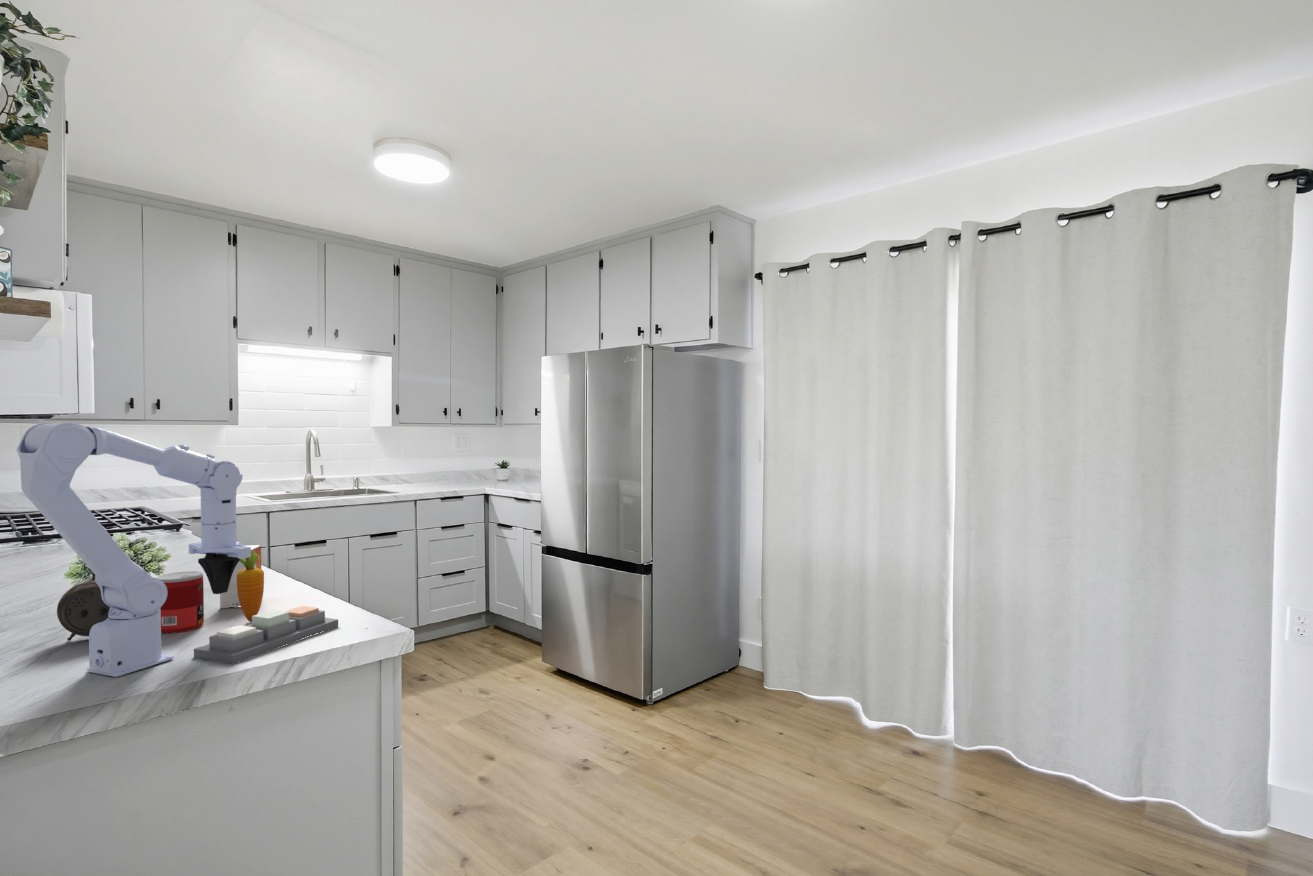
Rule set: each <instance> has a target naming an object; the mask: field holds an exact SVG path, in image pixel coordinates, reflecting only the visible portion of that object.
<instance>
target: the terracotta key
mask: <svg viewBox="0 0 1313 876" xmlns="http://www.w3.org/2000/svg"><path fill="white" fill-rule="evenodd" d="M319 610H320V607H314V606H313V607H312V606H305V605H301V606H298V607H294V608H292V609H288V610H285V611H283V612H289V616H290V617H298V618H301V617H304V616H307V615H311V614H314V613H317V612H319Z"/></svg>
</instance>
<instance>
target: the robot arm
mask: <svg viewBox="0 0 1313 876" xmlns="http://www.w3.org/2000/svg"><path fill="white" fill-rule="evenodd" d="M16 451H17V452H16V453H17V454H18V456H19V462H20V464H19V466H20V482H21V483H20V484H21V491H22V492H23V494H24V495H25V496H26V498H27V499H28V500H29V501H30V502H31V503H32V504H33V505H34V507H35V508H36V509H37V510H38V512H40V513H41V515H42V516H43V517H44V518H45V520H46V521H47V522H48V523H49V524H50V525H51V526H52V527H53V528H54V529H55V531H56V532H57V533H58V534H59V535H60V537H61V538H62V539H63V540H64V541H65V542H66V543H67V544H68V545H69V547H70V548H71V549H72V550H73V551H74V552H75V554H77V556H78V557H79V558H80V559H81V561H82V562H84V563H85V564H86V565H85V566H87V567H88V568H89V569H90V572H91V573H92V572H93V573H94V574H95V582H96V583H97V585H98V586H99V587H100V590H101V596H102V600H103V601H104V603H105V604H106V605H108V606H109V607H110V610H109V614H108V617H109V618H107V619H106V620H104V621H103V622H100V623H97V624H95V625H93V626H92V628H91V630H90V633H89V637H88V657H89V658H88V661H89V662H88V663H89V665H88V666H89V667H88V668H86V671H87V672H89V673H95V674H99V675H102V676H103V675H104V676H109V677H113V678H117V677H121V676H124V675H127V674H129V673H130V674H131V673H132V672H137V671H139V670H142V669H146V668H149V667H152V666H156V665H158V664H161V663H164V662H167V661H171V660H173V659H174V656H173V655H171V654H163V653H162V633H161V611H160V610H161V609H160V607H161V606H162V605H163V604H164V602H165V601H166V598H167V593H168V592H167V587H166V585H165V584H164V583H163V582H162V581H161V580H159V579H157V577H153V576H151V575H150V574H149V573H148V572H147V571H146V570H145V568H143V567H142V566H140V565H139V564H137V563H136V562H134V561H133V560H132V559H130V557H129V556H128V555H127V554H126V553H125V551H124V550H123V549H122V548H121V546H120V545H119V544H118V543H117V542H116V540H115V539H114V538H113V537H112V536H111V534H110V533H109V532H108V531H107V530H106V529H105V527H104V526H103V525H102V524H101V522H100V521H99V520H98V518H96V516H95V515H94V514H93V513H92V511H91V510H90V509H89V508H88V507H87V505H86V504H85V503H84V502H83V501H82V500H81V499H80V497H79V495H77V494H76V492H75V491H74V490H73V488H72V487H71V482H72V480H73V478H74V476H75V472H76V470H77V469H78V468H79V467H80V466H81V465H82V464H83V463H84V462H85V461H86V460H87V459H88V457H90V456H101V455H106V454H107V455H110V456H115V457H119V458H121V459H126V460H130V461H134V462H137V463H138V462H139V463H142V464H147V465H150V466H153V467H154V469H155V471H156V473H157V474H158V476H161V477H164V478H169V479H173V480H176V481H179V482H183V483H187V484H191V485H192V486H196V487H197V488H198V489H200V534H201V535H200V537H201V539H200V542H199V541H198V542H193V543H188V554H189V555H196V554H197V555H198V554H200V555H205V556H204V557H201V558H198V559H197V563H198V564H199V565H200V566H201V568H202V570H203V571H204V573H205V575H206V577H207V580H208V582H209V586H210V589H211V591H212V594H214V595H220V594H221V593H225V592H227V591H228V588H229V584H230V580H231V577H232V574H233V571H234V569H235V567H236V565H237V564H238V562H239V561H240V559H243V558H247V557H251V547H247V546H248V545H244V544H242V542H241V541H237V489H238V487H239V486H240V485H241V484H242V481H243V477H244V476H243V474H241V471H240V469H239V468H238V466H237V465H236V464H235V463H233V462H232V461H227V460H216V459H215V455H212V454H207V453H206V455H204V454H201V453H199V452H195V451H192V450H190V447H189V446H187V445H184V444H179V445H178V446H176V445H170V446H167V447H166V448H163V449H162V448H159V447H156V446H153V445H151V444H148V443H145V442H142V441H139V440H136V439H134V438H130V437H128V436H125V435H121V434H119V433H116V432H113V431H110V430H107V429H102V428H100V427H93V426H84V425H83V424H81V423H80V424H79V423H78V422H77V423H76V422H62V423H54V422H53V423H52V422H41V423H40V422H39V423H37V424H34V425H32V426H31V427H29V428H27V430H26V431H25V432H24V434H23V435H22V438H21V440H20V442H19V444H18V446H17V447H16ZM222 552H223V553H222ZM84 563H83V564H84Z"/></svg>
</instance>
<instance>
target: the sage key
mask: <svg viewBox="0 0 1313 876" xmlns="http://www.w3.org/2000/svg"><path fill="white" fill-rule="evenodd" d="M286 622H289V612H284V611H282V610H276V609H272V610H268V611H265V612H261V613H258V614H257V615H254V616H252V622H251V624H252V626H259V627H265V628H270V627H273V626H276V625H279V624H282V623H286Z"/></svg>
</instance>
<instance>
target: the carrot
mask: <svg viewBox="0 0 1313 876" xmlns="http://www.w3.org/2000/svg"><path fill="white" fill-rule="evenodd" d="M257 557H258V555H257V554H254V551H251V557H250V559H249V557H247V558H245V559H246V561H244V560H243V559H240V562H241V563H243V564H244V566H245V567H246V569H243V570H241V571H239V572H238V573H237V591H238V598H239V602H240V606H241V607H240V609H241V611H242V613H243V615H244V617H245V618H246V620H247V621H248V622H249V623H252V616H254V615H257V614H259V611H260V609H261V606H262V603H263V597H264V588H265V587H264V586H265V571H264V570H263V569H262V568H261V569H259V568H254V564H255V562H256V559H257Z"/></svg>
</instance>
